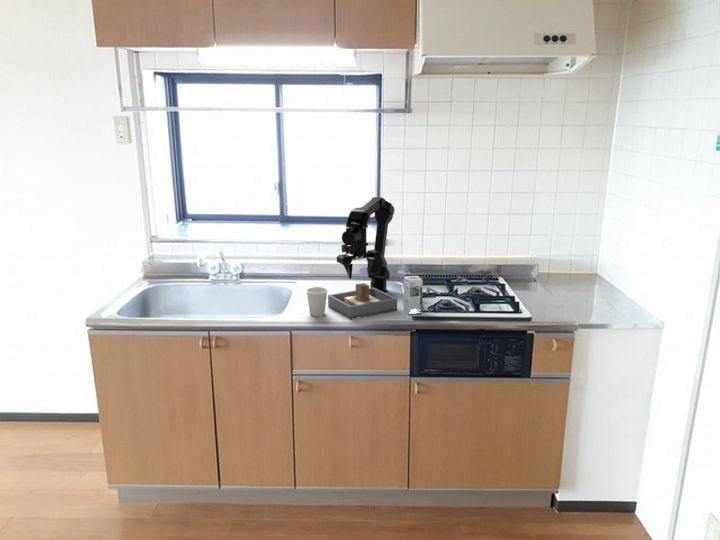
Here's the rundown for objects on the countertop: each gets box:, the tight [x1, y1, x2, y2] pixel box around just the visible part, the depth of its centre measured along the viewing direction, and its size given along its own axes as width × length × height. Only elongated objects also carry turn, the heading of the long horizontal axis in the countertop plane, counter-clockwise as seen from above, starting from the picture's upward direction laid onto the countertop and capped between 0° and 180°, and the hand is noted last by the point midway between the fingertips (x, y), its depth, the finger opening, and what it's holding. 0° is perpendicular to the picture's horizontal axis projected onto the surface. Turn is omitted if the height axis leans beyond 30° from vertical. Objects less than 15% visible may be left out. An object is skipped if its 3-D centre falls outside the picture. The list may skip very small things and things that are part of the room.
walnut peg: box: [355, 282, 370, 302], centre depth 218 cm, size 4×4×9 cm
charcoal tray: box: [327, 287, 398, 320], centre depth 218 cm, size 22×18×5 cm
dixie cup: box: [305, 286, 328, 317], centre depth 211 cm, size 8×8×10 cm
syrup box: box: [403, 275, 424, 315], centre depth 213 cm, size 6×6×14 cm
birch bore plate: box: [344, 295, 381, 306], centre depth 218 cm, size 11×11×3 cm
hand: (359, 276), depth 222 cm, fingers open, 9 cm apart
